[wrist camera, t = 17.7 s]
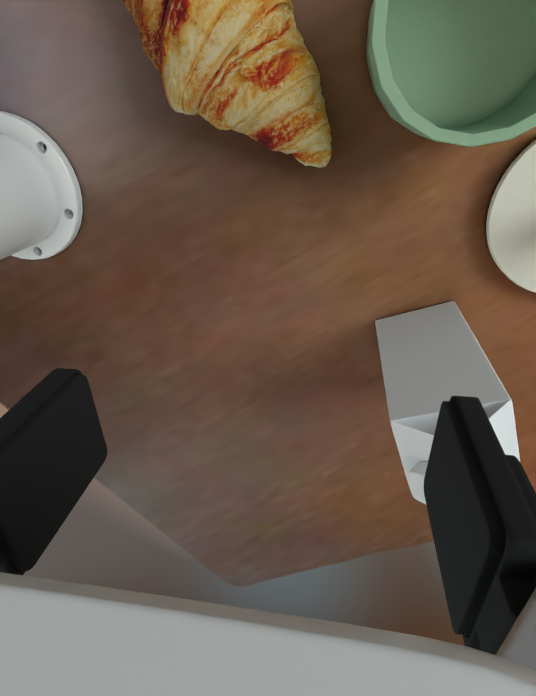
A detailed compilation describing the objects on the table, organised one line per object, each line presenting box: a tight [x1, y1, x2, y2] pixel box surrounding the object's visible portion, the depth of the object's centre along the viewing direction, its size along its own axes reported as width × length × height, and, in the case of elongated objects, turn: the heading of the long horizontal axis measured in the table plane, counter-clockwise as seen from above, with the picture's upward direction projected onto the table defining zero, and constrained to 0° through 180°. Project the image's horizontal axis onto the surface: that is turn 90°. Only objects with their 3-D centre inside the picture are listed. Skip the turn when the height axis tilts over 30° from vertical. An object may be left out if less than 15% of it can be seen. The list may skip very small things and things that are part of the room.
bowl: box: [366, 0, 536, 147], centre depth 25 cm, size 13×13×8 cm
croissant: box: [123, 0, 332, 168], centre depth 28 cm, size 21×10×8 cm, turn 47°
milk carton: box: [375, 301, 520, 504], centre depth 32 cm, size 7×7×19 cm
